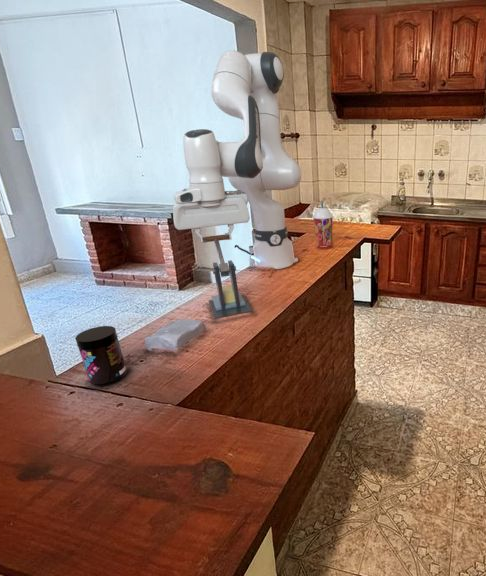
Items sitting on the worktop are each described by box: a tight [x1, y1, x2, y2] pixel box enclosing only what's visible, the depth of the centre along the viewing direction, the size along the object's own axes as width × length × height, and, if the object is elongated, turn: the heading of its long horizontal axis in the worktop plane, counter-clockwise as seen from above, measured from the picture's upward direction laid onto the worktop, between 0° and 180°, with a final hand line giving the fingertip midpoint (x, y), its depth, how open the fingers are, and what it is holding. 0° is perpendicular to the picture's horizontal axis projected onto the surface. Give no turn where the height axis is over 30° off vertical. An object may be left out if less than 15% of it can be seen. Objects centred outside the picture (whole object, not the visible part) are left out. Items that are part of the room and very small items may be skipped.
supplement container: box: [75, 325, 128, 388], centre depth 80 cm, size 7×7×10 cm
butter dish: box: [211, 284, 246, 311], centre depth 115 cm, size 10×8×4 cm
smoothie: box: [312, 200, 334, 250], centre depth 172 cm, size 8×8×20 cm
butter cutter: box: [208, 259, 254, 320], centre depth 111 cm, size 14×10×14 cm
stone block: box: [144, 318, 206, 352], centre depth 96 cm, size 12×5×10 cm
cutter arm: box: [205, 234, 230, 278], centre depth 112 cm, size 14×6×2 cm
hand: (216, 241), depth 115 cm, fingers closed on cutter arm, 5 cm apart
